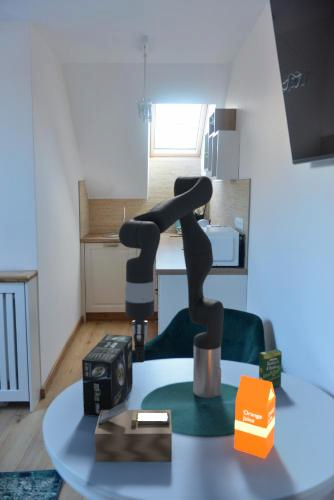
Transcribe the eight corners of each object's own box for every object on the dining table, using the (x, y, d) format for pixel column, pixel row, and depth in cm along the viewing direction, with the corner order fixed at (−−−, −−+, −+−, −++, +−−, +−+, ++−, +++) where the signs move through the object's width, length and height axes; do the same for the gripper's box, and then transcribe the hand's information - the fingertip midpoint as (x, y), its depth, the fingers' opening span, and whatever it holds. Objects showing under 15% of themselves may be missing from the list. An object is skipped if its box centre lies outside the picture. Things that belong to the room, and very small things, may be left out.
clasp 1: (99, 425, 119) (97, 422, 119) (101, 417, 123) (99, 414, 122) (127, 410, 118) (125, 407, 118) (128, 403, 122) (126, 400, 122)
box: (113, 419, 137) (112, 361, 134) (82, 415, 139) (81, 358, 136) (133, 385, 159) (133, 335, 156) (107, 383, 161) (106, 333, 158)
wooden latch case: (170, 435, 128) (170, 404, 127) (171, 461, 116) (171, 427, 115) (101, 435, 128) (100, 404, 126) (95, 462, 116) (94, 428, 114)
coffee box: (262, 390, 156) (263, 354, 154) (257, 386, 158) (258, 351, 156) (281, 386, 159) (282, 351, 157) (276, 383, 161) (277, 348, 159)
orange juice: (243, 435, 128) (246, 369, 125) (273, 444, 124) (276, 376, 121) (233, 449, 122) (235, 380, 119) (265, 459, 117) (267, 388, 114)
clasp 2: (169, 416, 123) (169, 413, 123) (169, 424, 119) (169, 420, 119) (138, 416, 123) (138, 412, 123) (137, 424, 119) (137, 420, 119)
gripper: (154, 304, 109) (153, 371, 111) (154, 291, 122) (154, 351, 124) (123, 304, 109) (123, 371, 111) (126, 291, 122) (127, 352, 124)
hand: (139, 361), depth 118 cm, fingers closed
